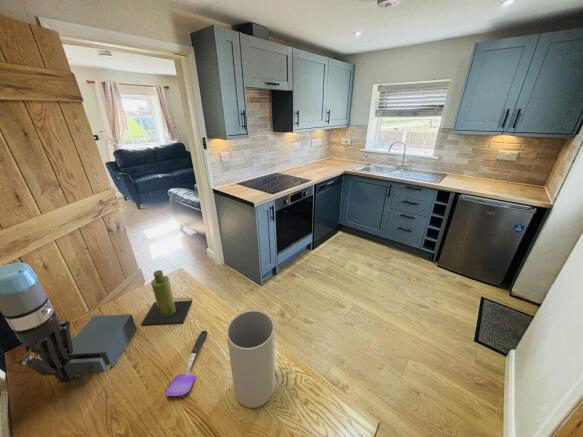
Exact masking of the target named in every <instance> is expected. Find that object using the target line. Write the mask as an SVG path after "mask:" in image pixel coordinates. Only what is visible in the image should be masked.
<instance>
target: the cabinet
mask: <svg viewBox="0 0 583 437" xmlns="http://www.w3.org/2000/svg"><path fill="white" fill-rule="evenodd" d="M135 332H137V325H136V322H135V320H134V317H133V313H127V314H109V315H108V314H107V315H105V314H104V315H93V316H91V318H90V320H88V322H87V323H86V324H85V325H84V326H83V327H82V329H81V330H80V331H78V333H76V334H77V335H76V334H75V335H76V337H75V338H74V339H73V340H72V347H73V352H72V354H70V355H69V356H79V355H95V354H104V356H105V358H106V360H107V362H108V363H107V365H110V367H109V369H112V368H114V366H115V365H116V363H117V361H118V360H119V358H120V356H121V355H122V353H123V352H124V350H125V348H126V347H127V345H128V343H129V342H130V340H131V339H132V337H133V335H134V334H135Z"/></svg>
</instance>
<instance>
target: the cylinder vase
mask: <svg viewBox="0 0 583 437" xmlns="http://www.w3.org/2000/svg"><path fill="white" fill-rule="evenodd" d="M226 338H227V346H228V354H229V361H230V368H231V370H230V371H231V377H232V385H233V393H234V397H235V399H236V400H237V402H238V403H239V404H240V405H242V406H243V407H246V408H249V409H251V408H252V409H253V408H254V409H255V408H259V407H262V406H263V405H264V404H266V403H267V402H268V401H269V400H270V399H271V397H272V395H273V394H274V391H275V387H276V377H275V376H276V366H275V364H276V362H275V358H276V357H275V322H274V320H273V319H272V317H271V316H270V315H269V314H267V313H265V312H264V311H261V310H253V309H252V310H247V311H244V312H241V313H239V314H236V315H235V317H233V318H232V319H231V320H230V322H229V324H228V325H227V329H226Z"/></svg>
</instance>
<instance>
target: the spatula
mask: <svg viewBox="0 0 583 437" xmlns="http://www.w3.org/2000/svg"><path fill="white" fill-rule="evenodd" d="M207 334H208V332H207V330H202V331H201V332H200V334H199V336H198V337H197V339H196V341H195V343H194V345H193V348H192V349H191V354H190V357H189V359H188V362H187V366H186V368H185V373H184V374H177V375H175V377H174V378H173V380H172V381H171V383H170V384H169V386H168V387H167V389H166V390H165V392H164V395H165V396H167V397H168V396H170V397H181V396H184V395H186V394H187V393H189V392H190V390H191V388H192V386H193V385H194V382H195V380H196V376H195V375H194V374H191V370H192V367H193V362H194V360H195V357H196V355H197V354H198V353H199V351H200V349H201V347H202V345H203V343H204V341H205V340H206V337H207Z"/></svg>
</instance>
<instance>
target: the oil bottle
mask: <svg viewBox="0 0 583 437" xmlns="http://www.w3.org/2000/svg"><path fill="white" fill-rule="evenodd" d="M153 277H154V278H153V280H151V283H150V284H151V288H152V292H153V296H154V299H155V302H156V303H157V307H158V310H159V314H160V316H161V317H169V316H171V315H173V314H174V313H175V311H176V307H175V302H174V301H175V298H174V294H173V290H172V286H171V283H170V278H169V277H168V276H167V275H164V272H163V270H160V269H159V270H156V271H154V272H153Z"/></svg>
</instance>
